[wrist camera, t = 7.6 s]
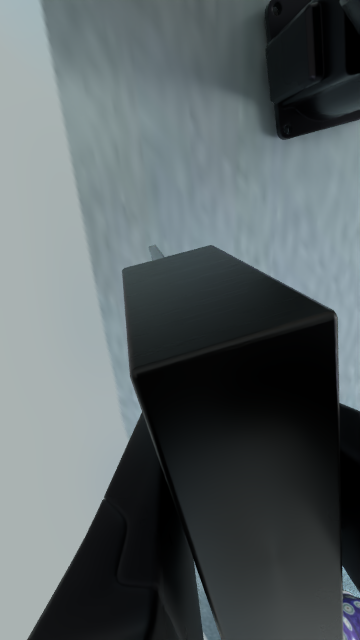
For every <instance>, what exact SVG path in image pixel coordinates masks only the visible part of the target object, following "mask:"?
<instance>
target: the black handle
mask: <svg viewBox="0 0 360 640" xmlns="http://www.w3.org/2000/svg"><path fill="white" fill-rule="evenodd" d="M149 250H150V254H151V258H152V261H150V262H146V263H142V264H138V265H135V266H131V267H127V268H124V269H123V270H122V276H123V289H124V302H125V316H126V329H127V342H128V356H129V369H130V378H131V381H132V383H133V386H134V389H135V392H136V395H137V398H138V401H139V404H140V406H141V409H142V412H143V415H144V418H145V421H146V424H147V427H148V430H149V432H150V435H151V438H152V441H153V444H154V447H155V450H156V453H157V455H158V458H159V461H160V464H161V467H162V470H163V473H164V476H165V478H166V481H167V484H168V487H169V490H170V493H171V496H172V499H173V501H174V504H175V507H176V510H177V513H178V516H179V519H180V522H181V524H182V527H183V530H184V533H185V536H186V539H187V542H188V545H189V548H190V550H191V553H192V556H193V559H194V562H195V565H196V568H197V571H198V573H199V576H200V579H201V582H202V585H203V588H204V591H205V594H206V596H207V599H208V602H209V605H210V608H211V611H212V614H213V617H214V619H215V622H216V625H217V628H218V631H219V634H220V637H221V640H344V638H343V585H342V531H341V477H340V423H339V370H338V318H337V315H336V313H335V312H334V310H332V309H330V308H328V307H326V306H324V305H323V304H321V303H319V302H317V301H315V300H313V299H311V298H310V297H308V296H306V295H304V294H302V293H300V292H298V291H297V290H295V289H293V288H291V287H289V286H287V285H285V284H284V283H282V282H280V281H278V280H276V279H274V278H272V277H271V276H269V275H267V274H265V273H263V272H261V271H259V270H258V269H256V268H254V267H252V266H250V265H248V264H246V263H244V262H243V261H241V260H239V259H237V258H235V257H233V256H231V255H230V254H228V253H226V252H224V251H222V250H220V249H218V248H217V247H215V246H212V245H209V246H206V247H202V248H198V249H194V250H191V251H187V252H183V253H179V254H176V255H172V256H168V257H164V255H163V254H162V253H161V252H160V250H159V249H158V248H157V246H156V245H152V246H149Z"/></svg>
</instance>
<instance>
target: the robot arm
mask: <svg viewBox="0 0 360 640" xmlns="http://www.w3.org/2000/svg"><path fill="white" fill-rule="evenodd" d="M273 7H276V8H277V9H278V15H275V14H274V13H273ZM265 20H266V30H267V40H268V46H267V47H266V59H267V68H268V78H269V87H270V96H271V101H272V102H273V103H274V107H275V117H276V127H277V134H278V136H279V138H280V139H282V140H286V139H290V138H293V137H297V136H301V135H304V134H308V133H312V132H315V131H319V130H323V129H326V128H330V127H334V126H337V125H341V124H345V123H348V122H352V121H356V120H359V119H360V0H271V1H270V2H269V4H268V5H267V6H266V9H265ZM285 126H288V128H289V132H288V134H286V133H285V131H284V127H285ZM339 423H340V477H341V531H342V566H343V567H344V569H345V570H346V572H347V573H348V575H349V577H350V578H351V580H352V581H353V583H354V584H355V586H356V588H357V589H358V591H359V592H360V411H358V410H355V409H353V408H350V407H348V406H346V405H343V404H341V403H339ZM27 640H204V639H203V630H202V623H201V615H200V607H199V599H198V591H197V583H196V575H195V567H194V560H193V556H192V553H191V550H190V548H189V545H188V542H187V539H186V536H185V533H184V530H183V527H182V524H181V522H180V519H179V516H178V513H177V510H176V507H175V504H174V501H173V499H172V496H171V493H170V490H169V487H168V484H167V481H166V478H165V476H164V473H163V470H162V467H161V464H160V461H159V458H158V455H157V453H156V450H155V447H154V444H153V441H152V438H151V435H150V432H149V430H148V427H147V424H146V421H145V418H144V415H143V412H142V413H141V416H140V418H139V420H138V422H137V425H136V427H135V429H134V431H133V433H132V436H131V438H130V440H129V442H128V445H127V447H126V449H125V452H124V454H123V456H122V458H121V460H120V463H119V465H118V467H117V469H116V471H115V474H114V476H113V478H112V480H111V482H110V485H109V487H108V489H107V491H106V494H105V496H104V499H103V500H102V502H101V504H100V507H99V509H98V511H97V514H96V515H95V518H94V520H93V522H92V524H91V526H90V528H89V530H88V533H87V534H86V536H85V538H84V540H83V542H82V544H81V546H80V548H79V549H78V551H77V553H76V555H75V557H74V559H73V560H72V562H71V564H70V566H69V567H68V569H67V571H66V573H65V575H64V576H63V578H62V580H61V582H60V583H59V585H58V587H57V589H56V590H55V592H54V594H53V595H52V597H51V599H50V601H49V603H48V604H47V606H46V608H45V610H44V611H43V613H42V615H41V617H40V618H39V620H38V622H37V624H36V625H35V627H34V629H33V631H32V632H31V634H30V636H29V638H28V639H27Z"/></svg>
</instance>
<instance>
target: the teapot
mask: <svg viewBox="0 0 360 640" xmlns="http://www.w3.org/2000/svg"><path fill="white" fill-rule="evenodd" d="M343 638H344V640H360V598H357V597H354V596H353V595H352V594H351V593H349V592H347V591H343Z"/></svg>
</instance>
